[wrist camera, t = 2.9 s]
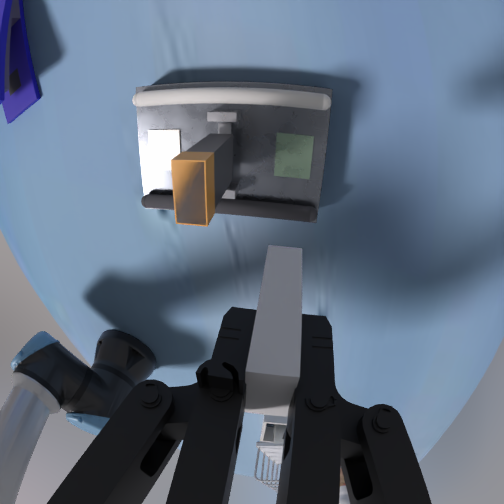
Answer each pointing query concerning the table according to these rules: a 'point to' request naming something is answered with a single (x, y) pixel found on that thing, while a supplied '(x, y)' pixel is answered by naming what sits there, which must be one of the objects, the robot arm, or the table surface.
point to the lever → (202, 177)
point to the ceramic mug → (278, 433)
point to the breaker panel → (240, 143)
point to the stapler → (15, 62)
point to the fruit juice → (343, 490)
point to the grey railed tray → (237, 97)
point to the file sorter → (275, 455)
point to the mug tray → (268, 431)
